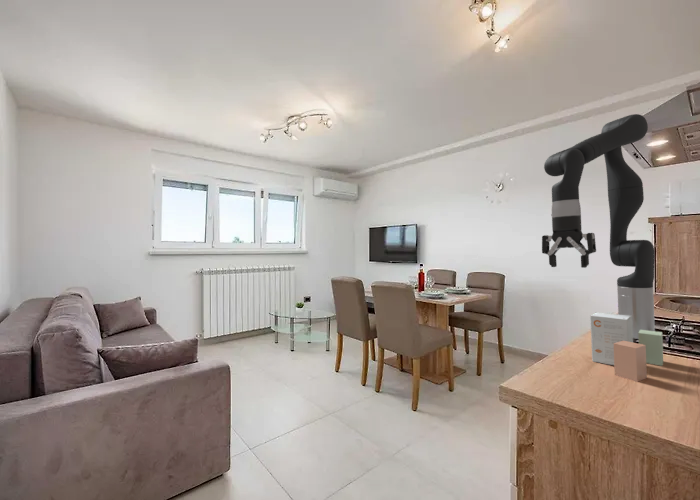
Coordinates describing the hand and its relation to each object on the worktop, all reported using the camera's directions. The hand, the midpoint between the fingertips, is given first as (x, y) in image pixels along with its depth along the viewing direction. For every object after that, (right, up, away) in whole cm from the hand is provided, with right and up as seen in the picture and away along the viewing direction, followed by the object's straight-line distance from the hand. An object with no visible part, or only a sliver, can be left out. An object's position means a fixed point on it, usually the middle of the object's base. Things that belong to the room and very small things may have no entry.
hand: (568, 267), depth 99 cm
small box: (+4, -26, -12) cm, 29 cm away
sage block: (+14, -25, -13) cm, 32 cm away
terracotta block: (+1, -26, -21) cm, 33 cm away
